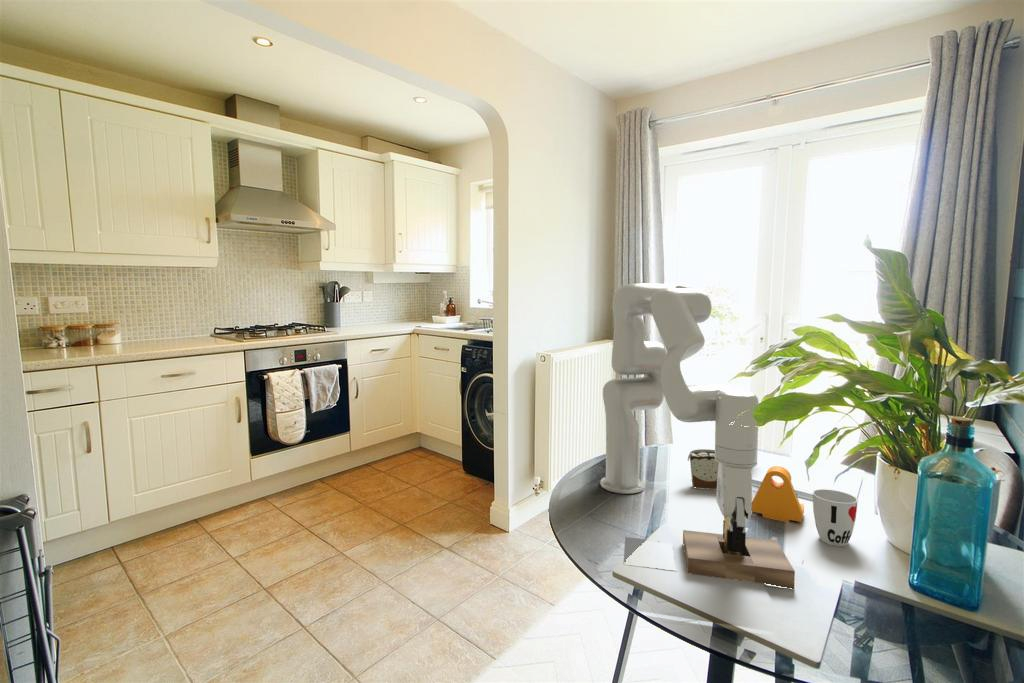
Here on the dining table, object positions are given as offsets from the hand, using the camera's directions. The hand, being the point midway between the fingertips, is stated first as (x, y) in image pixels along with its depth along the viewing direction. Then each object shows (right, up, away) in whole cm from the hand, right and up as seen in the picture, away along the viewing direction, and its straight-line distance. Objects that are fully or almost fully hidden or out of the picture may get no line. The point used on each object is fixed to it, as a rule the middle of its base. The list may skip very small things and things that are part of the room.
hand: (733, 545), depth 92 cm
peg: (0, -3, 0) cm, 3 cm away
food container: (+13, -2, +44) cm, 46 cm away
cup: (+27, -4, +10) cm, 29 cm away
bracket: (+22, -3, +24) cm, 33 cm away
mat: (-15, -4, +4) cm, 17 cm away
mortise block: (0, -4, 0) cm, 4 cm away
